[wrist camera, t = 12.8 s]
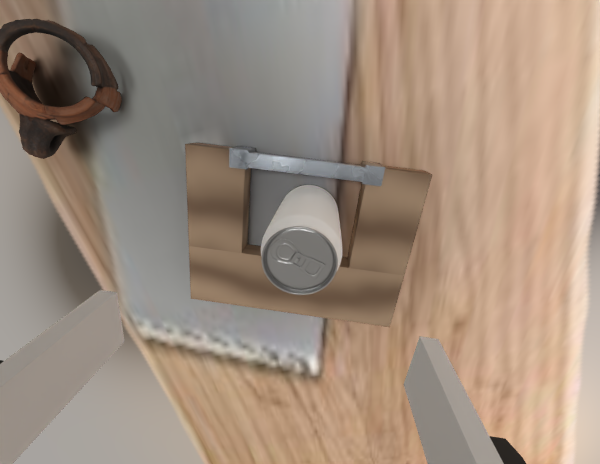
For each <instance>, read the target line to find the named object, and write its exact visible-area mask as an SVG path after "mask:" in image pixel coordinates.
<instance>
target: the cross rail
mask: <svg viewBox="0 0 600 464" xmlns="http://www.w3.org/2000/svg"><path fill="white" fill-rule="evenodd" d="M255 149H256V148H252V147H244V146H236V147H232V148H229V167H231V168H239V169H249V168H255V169H263V170H271V171H279V172H287V173H295V174H303V175H311V176H319V177H327V178H335V179H343V180H351V181H359V182H361V183H362V184H366V185H374V186H381V185H382V181H383V176H384V171H385V167H384V166H383V165H381V164H380V163H374V162H366V161H362V164H361V165H358V164H350V163H342V162H334V161H326V160H318V159H310V158H302V157H293V156H285V155H277V154H269V153H261V152H255Z"/></svg>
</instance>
